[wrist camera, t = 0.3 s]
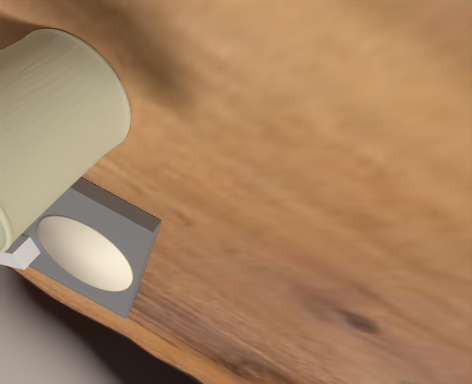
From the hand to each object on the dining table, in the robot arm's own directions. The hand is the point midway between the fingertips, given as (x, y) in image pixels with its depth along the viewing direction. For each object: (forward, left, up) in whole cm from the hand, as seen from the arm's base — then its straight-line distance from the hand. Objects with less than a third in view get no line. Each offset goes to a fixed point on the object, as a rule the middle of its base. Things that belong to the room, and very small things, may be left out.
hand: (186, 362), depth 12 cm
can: (+7, -15, -15) cm, 23 cm away
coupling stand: (+25, -17, -15) cm, 33 cm away
